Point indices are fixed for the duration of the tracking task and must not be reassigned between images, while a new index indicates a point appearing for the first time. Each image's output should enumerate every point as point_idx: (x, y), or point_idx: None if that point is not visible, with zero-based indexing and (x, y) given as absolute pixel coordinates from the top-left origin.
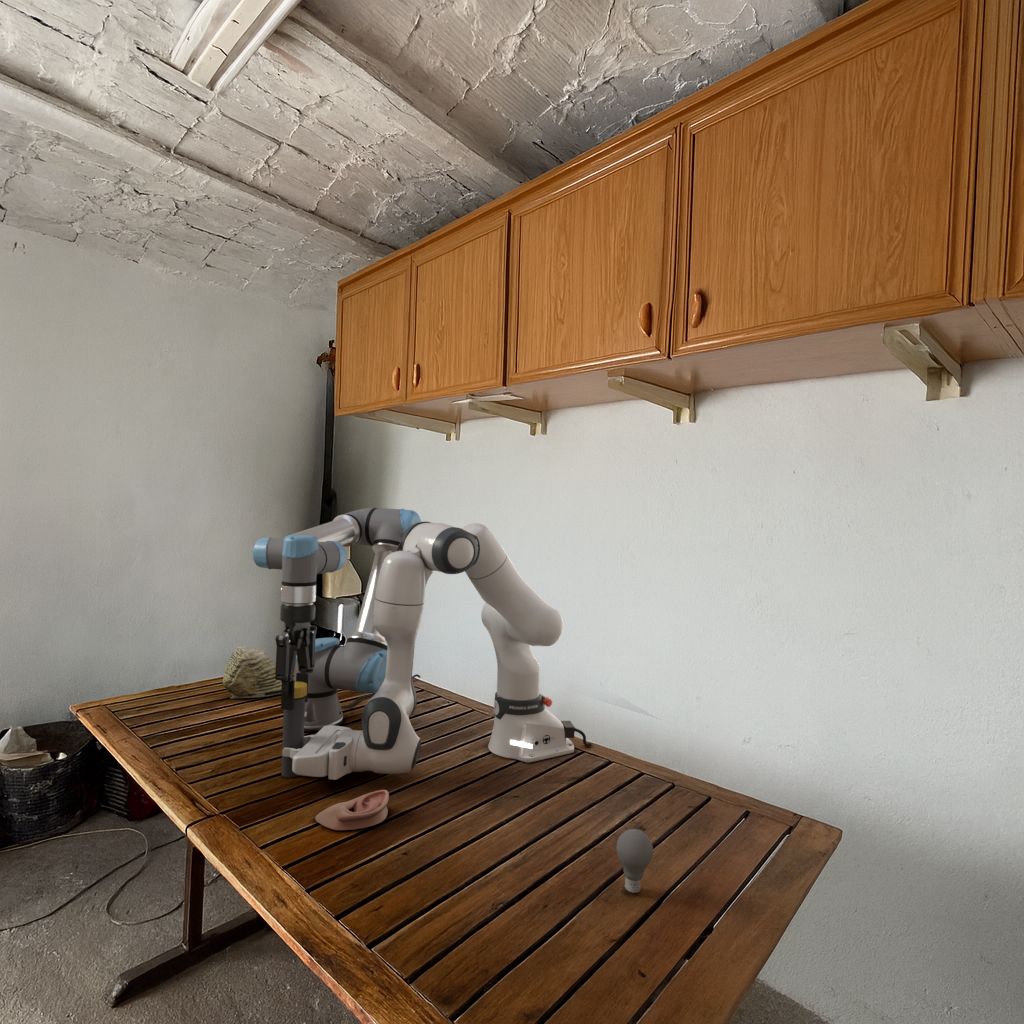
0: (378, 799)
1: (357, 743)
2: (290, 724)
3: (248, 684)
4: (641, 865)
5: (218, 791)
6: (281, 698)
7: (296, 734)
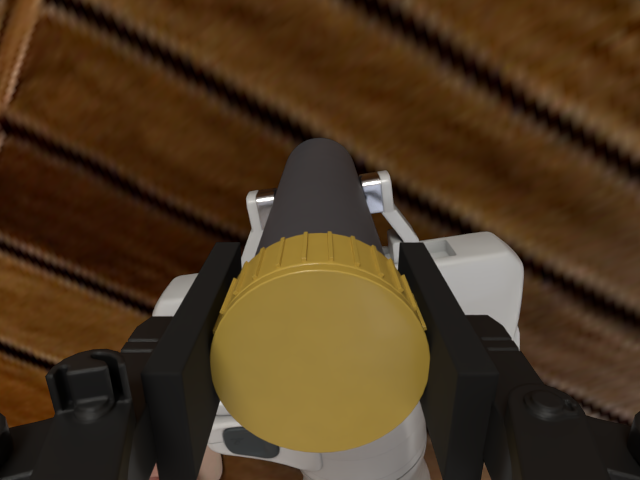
0: None
1: (309, 474)
2: None
3: None
4: None
5: (105, 7)
6: (198, 276)
7: None
